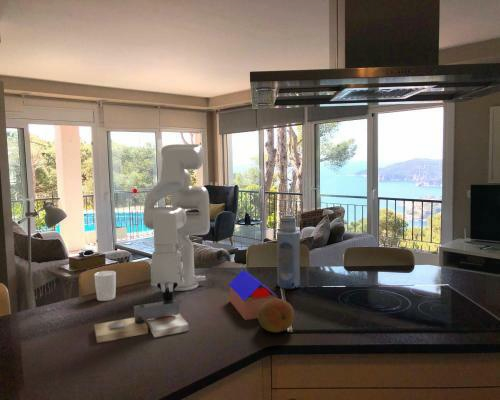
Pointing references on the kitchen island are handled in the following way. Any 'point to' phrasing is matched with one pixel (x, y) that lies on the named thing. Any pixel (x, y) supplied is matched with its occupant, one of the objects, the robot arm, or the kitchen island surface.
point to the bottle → (288, 253)
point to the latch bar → (155, 310)
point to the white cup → (105, 285)
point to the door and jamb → (140, 328)
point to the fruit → (276, 315)
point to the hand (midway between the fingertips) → (168, 302)
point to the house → (248, 295)
